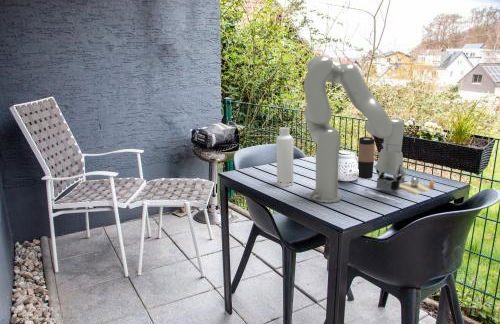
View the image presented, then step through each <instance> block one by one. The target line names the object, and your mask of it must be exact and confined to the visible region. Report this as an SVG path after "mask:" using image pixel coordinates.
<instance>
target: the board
mask: <svg viewBox="0 0 500 324" xmlns="http://www.w3.org/2000/svg"><path fill="white" fill-rule="evenodd" d="M429 186H430V185H427V184H424V183H420V182H418V187H417V188H414V187H411V180H409V181H406V182H404V183H402V184H400V188H399V190H398V191H402V192H406V193H409V194H413V195H418V194H422V193H426V192H429V191H431V190H435V189H436V187H434V186H433V189H430V188H429Z"/></svg>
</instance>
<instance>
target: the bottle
mask: <svg viewBox="0 0 500 324" xmlns="http://www.w3.org/2000/svg"><path fill="white" fill-rule="evenodd" d="M290 129H291V128H290V127H288V126H287V127H283V126H282V127H279V131H280V133H279V134H278V136H277V137H276V138H275V139H276V141H275V142H276V143H275V144H276V185H277V184H278V185H280V186H279V187H281V186H290V187H292V186H291V185H293V186H294V138H293V136H292V135H291V134H290ZM279 182H281V183H279ZM290 182H291V183H290ZM278 185H277V186H278Z"/></svg>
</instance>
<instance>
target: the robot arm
mask: <svg viewBox="0 0 500 324" xmlns="http://www.w3.org/2000/svg"><path fill="white" fill-rule="evenodd" d="M306 71H307V73H306V75H305V77H304V83H303V90H304V95H305V99H306V103H307V104H306V106H305V107H304V117H305V122H306V125H307V128H308V131H309V135H310V138H311V140H312V141H313V142H314V144H316V152H315V188H313V191H312V192H308V193H306V196H307V198H309V199H310V198H312V201H313V200H314V201H315V202H318V203H323V202H325V203H324V204H331V203H332V202H333V203H337V202H339V201H341V200H342V195H341V194H340V193H339V191H338V190H339V158H340V157H339V155H340V148H341V143H342V142H341V139H342V138H341V135H340V133H339V131H338V130H337V129H336V128H334V127H333V126H331V125H330V121H331V120H332V117H333V115H332V114H333V112H332V108H331V105H330V101H329V97H328V93H327V89H326V83H327V82H330V83H335V84H339V85H341V86H342V89H343V90H344V91H345V93H346V96H347V97H348V99H349V101H350V103H351V104H352V105H353V106H354V107H355V108H356V110H358V111H359V112H361V113H362V114H363V116H364V117H366V119H367V120H366V121H365V125H364V129H365V131H366V132H367V133H368V134H369V135H371V136H373V137H376V138H379V139H383V142H382V143H381V146H382V148H381V150H380V152H379V156H378V160H377V164H375V165H373V168H374V169H375V170H376V173H377V176H378V178H381V177H385V174H386V175H388V176H392V178H394V181H393V187H392V190H395V191H398V190H397V189H398V187H399V181H400V180H401V179H403V177H404V178H406V176H407V173H406V171H405V170H404V168H403V167H404V156H403V152H402V147H403V138H404V131H405V121H404V120H403V119H402V118H389V116H388V114H387V112H386V111H385V109H384V107H383V106H382V105H381V104H380V103H379V101H378V100H377V98H376V97H375V96H374V95H373V94H372V92H371V90H370V89H369V86H368V85H367V83H366V81H365V79H364V77H363V76H362V74H361V72H360V70H359V68H358V67H357V66H356V65H355V64H352V63H341V62H337V61H334V60H333V59H331V58H330V57H328V56H326V55H323V56H321V55H320V56H314V57H312V58H311V59H309V60H308V62H307V65H306Z"/></svg>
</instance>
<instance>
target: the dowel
mask: <svg viewBox="0 0 500 324" xmlns="http://www.w3.org/2000/svg"><path fill="white" fill-rule="evenodd" d="M434 184H435V181H434V180H429V185H428V186H429V188H430V189H432V190H434V189H433V187H434Z"/></svg>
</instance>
